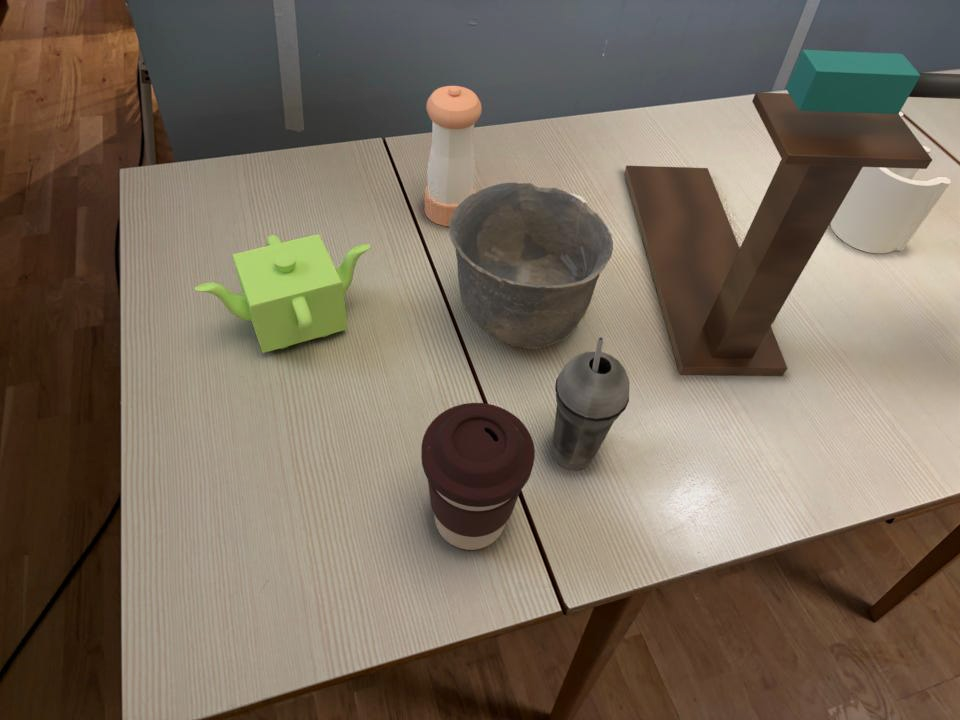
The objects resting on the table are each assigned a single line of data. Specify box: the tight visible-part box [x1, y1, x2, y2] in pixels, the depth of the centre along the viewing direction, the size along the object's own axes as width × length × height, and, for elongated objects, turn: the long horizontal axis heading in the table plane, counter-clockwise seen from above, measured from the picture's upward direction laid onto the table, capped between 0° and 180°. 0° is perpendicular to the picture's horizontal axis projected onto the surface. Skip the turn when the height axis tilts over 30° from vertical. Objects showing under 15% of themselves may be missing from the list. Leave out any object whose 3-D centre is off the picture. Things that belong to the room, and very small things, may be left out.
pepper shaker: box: [424, 85, 483, 227], centre depth 95 cm, size 7×7×19 cm
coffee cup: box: [420, 402, 536, 551], centre depth 66 cm, size 10×10×15 cm
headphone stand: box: [623, 91, 933, 377], centre depth 86 cm, size 13×41×32 cm, turn 2°
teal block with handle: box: [785, 49, 960, 114], centre depth 61 cm, size 22×4×4 cm, turn 92°
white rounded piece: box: [829, 111, 952, 254], centre depth 106 cm, size 25×10×12 cm, turn 179°
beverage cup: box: [551, 336, 630, 471], centre depth 70 cm, size 7×7×20 cm
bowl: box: [448, 182, 614, 349], centre depth 84 cm, size 18×18×15 cm
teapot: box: [194, 233, 372, 354], centre depth 83 cm, size 15×13×11 cm
